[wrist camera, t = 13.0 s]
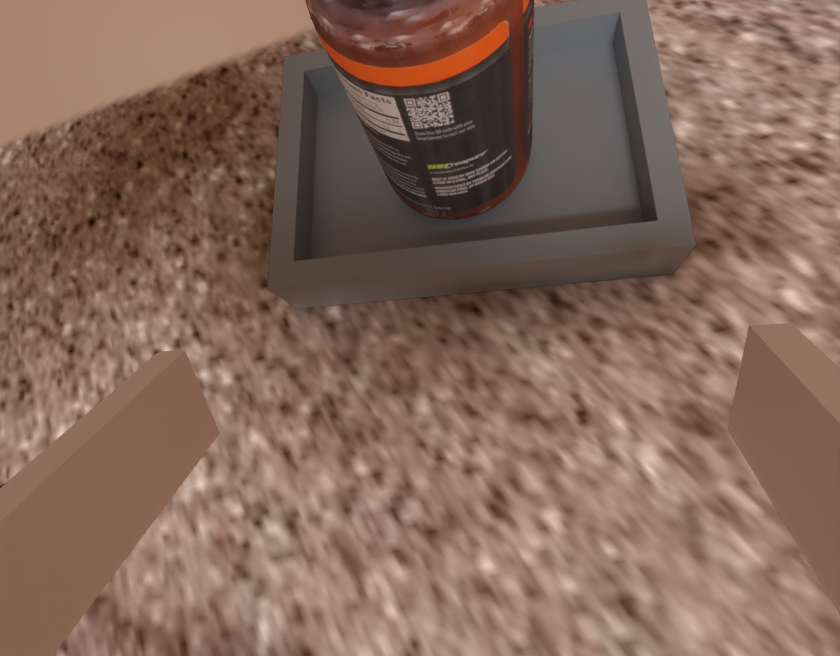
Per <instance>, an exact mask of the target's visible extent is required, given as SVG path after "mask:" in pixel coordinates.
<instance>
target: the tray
mask: <svg viewBox="0 0 840 656" xmlns="http://www.w3.org/2000/svg"><path fill="white" fill-rule="evenodd" d="M695 246H696V242H695V237H694V232H693V227H692V222H691V217H690V212H689V207H688V202H687V198H686V193H685V188H684V183H683V178H682V173H681V168H680V163H679V158H678V154H677V149H676V144H675V139H674V134H673V129H672V124H671V119H670V114H669V109H668V105H667V100H666V95H665V90H664V85H663V80H662V75H661V70H660V65H659V60H658V56H657V51H656V46H655V41H654V36H653V31H652V26H651V21H650V16H649V12H648V7H647V2H646V0H573V1H567V2H562V3H557V4H552V5H547V6H542V7H537V8H534V42H533V114H532V145H531V155H530V162H529V165H528V168H527V170H526V172H525V174H524V176H523V178H522V180H521V181H520V183H519V184H518V186H517V187H516V188H515V189H514V191H513V192H512V193H511V194H510V195H509V196H508V197H507V198H506V199H505V200H504V201H502V202H501V203H500V204H498V205H497V206H495V207H494V208H492V209H490V210H488V211H486V212H483V213H481V214H478V215H476V216H472V217H468V218H462V219H440V218H432V217H429V216H426V215H424V214H421V213H419V212H417V211H415V210H414V209H412V208H411V207H409V206H408V205H407V204H406V203H405V202H404V201H402V200H401V199H400V197H399V196H398V195H397V193H396V192H395V191H394V189H393V187H392V185H391V184H390V182H389V181H388V179H387V177H386V174H385V172H384V170H383V168H382V166H381V164H380V162H379V160H378V158H377V155H376V153H375V151H374V149H373V147H372V145H371V143H370V141H369V139H368V137H367V135H366V133H365V130H364V128H363V126H362V124H361V122H360V120H359V118H358V116H357V114H356V112H355V109H354V108H353V106H352V104H351V101H350V100H349V97H348V95H347V93H346V91H345V89H344V87H343V85H342V83H341V81H340V79H339V77H338V75H337V73H336V71H335V68H334V66H333V64H332V62H331V60H330V58H329V57H328V54H327V51H326V49H321V50H316V51H311V52H305V53H300V54H295V55H290V56H285V57H284V64H283V78H282V92H281V106H280V120H279V134H278V148H277V162H276V176H275V190H274V204H273V218H272V232H271V245H270V259H269V273H268V287H267V288H268V289H270V290H271V291H272V292H274V293H275V294H276V295H278V296H279V297H281V298H282V299H283V300H285V301H286V302H288V303H289V304H290V305H292V306H293V307H295V308H296V309H298V308H309V307H320V306H331V305H342V304H353V303H364V302H375V301H386V300H396V299H407V298H418V297H429V296H440V295H451V294H462V293H473V292H484V291H495V290H506V289H517V288H528V287H539V286H550V285H560V284H571V283H582V282H593V281H604V280H615V279H626V278H637V277H648V276H659V275H670V274H674V273H675V271H676V270H677V269H678V267H679V266H680V265H681V264H682V262H683V261H684V260H685V258H686V257H687V256H688V255H689V253H690V252H691V251H692V249H693V248H694V247H695Z"/></svg>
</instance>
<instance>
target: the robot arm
mask: <svg viewBox="0 0 840 656" xmlns="http://www.w3.org/2000/svg"><path fill="white" fill-rule="evenodd" d="M728 431H729V432H730V434H731V436H732V437H733V439H734V441H735V442H736V444H737V445H738V447H739V449H740V450H741V452H742V454H743V455H744V457H745V459H746V460H747V462H748V464H749V465H750V467H751V469H752V470H753V472H754V474H755V475H756V477H757V478H758V480H759V482H760V483H761V485H762V487H763V488H764V490H765V492H766V493H767V495H768V497H769V498H770V500H771V502H772V503H773V505H774V506H775V508H776V510H777V511H778V513H779V515H780V516H781V518H782V520H783V521H784V523H785V525H786V526H787V528H788V530H789V531H790V533H791V535H792V536H793V538H794V539H795V541H796V543H797V544H798V546H799V548H800V549H801V551H802V553H803V554H804V556H805V558H806V559H807V561H808V563H809V564H810V566H811V567H812V569H813V571H814V572H815V574H816V576H817V577H818V579H819V581H820V582H821V584H822V586H823V587H824V589H825V591H826V592H827V594H828V596H829V597H830V599H831V600H832V602H833V604H834V605H835V607H836V609H837V610H838V612H839V614H840V368H839V367H838V366H837V365H836V364H835V363H833V362H832V361H831V360H830V359H829V358H828V357H827V356H826V355H825V354H824V353H823V352H821V351H820V350H819V349H818V348H817V347H816V346H815V345H814V344H813V343H812V342H811V341H810V340H808V339H807V338H806V337H805V336H804V335H803V334H802V333H801V332H800V331H799V330H798V329H797V328H795V327H794V326H793V325H792V324H769V325H749V329H748V333H747V338H746V343H745V348H744V353H743V358H742V362H741V367H740V372H739V377H738V382H737V387H736V391H735V396H734V401H733V406H732V411H731V416H730V420H729V425H728ZM219 434H220V432H219V430H218V428H217V425H216V423H215V420H214V418H213V416H212V413H211V411H210V409H209V406H208V404H207V402H206V399H205V397H204V395H203V392H202V390H201V387H200V385H199V383H198V380H197V378H196V376H195V373H194V371H193V369H192V366H191V364H190V362H189V359H188V357H187V354H186V352H185V351H166V352H158V353H157V354H156V355H155V356H153V357H152V358H151V359H150V360H149V361H148V362H147V363H145V364H144V365H143V366H142V367H141V368H140V369H138V370H137V371H136V372H135V373H134V374H133V375H131V376H130V377H129V378H128V379H127V380H126V381H124V382H123V383H122V384H121V385H120V386H119V387H117V388H116V389H115V390H114V391H113V392H112V393H110V394H109V395H108V396H107V397H106V398H105V399H103V400H102V401H101V402H100V403H99V404H98V405H96V406H95V407H94V408H93V409H92V410H91V411H89V412H88V413H87V414H86V415H85V416H84V417H82V418H81V419H80V420H79V421H78V422H77V423H76V424H74V425H73V426H72V427H71V428H70V429H69V430H67V431H66V432H65V433H64V434H63V435H62V436H60V437H59V438H58V439H57V440H56V441H55V442H53V443H52V444H51V445H50V446H49V447H48V448H46V449H45V450H44V451H43V452H42V453H41V454H39V455H38V456H37V457H36V458H35V459H34V460H32V461H31V462H30V463H29V464H28V465H27V466H25V467H24V468H23V469H22V470H21V471H20V472H18V473H17V474H16V475H15V476H14V477H13V478H11V479H10V480H9V481H8V482H6V483H5V484H3V485H2V486H0V656H53V655H54V654H55V652H56V651H57V650H58V648H59V647H60V646H61V644H62V643H63V642H64V640H65V639H66V638H67V636H68V635H69V634H70V632H71V631H72V630H73V628H74V627H75V626H76V624H77V623H78V622H79V620H80V619H81V618H82V616H83V615H84V614H85V612H86V611H87V610H88V608H89V607H90V606H91V604H92V603H93V602H94V600H95V599H96V598H97V596H98V595H99V594H100V592H101V591H102V590H103V588H104V587H105V586H106V584H107V583H108V582H109V580H110V579H111V578H112V576H113V575H114V574H115V572H116V571H117V570H118V568H119V567H120V566H121V564H122V563H123V562H124V560H125V559H126V558H127V556H128V555H129V554H130V552H131V551H132V550H133V548H134V547H135V546H136V544H137V543H138V542H139V540H140V539H141V538H142V536H143V535H144V534H145V532H146V531H147V530H148V528H149V527H150V526H151V524H152V523H153V522H154V520H155V519H156V518H157V516H158V515H159V514H160V512H161V511H162V510H163V508H164V507H165V506H166V504H167V503H168V502H169V500H170V499H171V498H172V496H173V495H174V494H175V492H176V491H177V490H178V488H179V487H180V486H181V484H182V483H183V482H184V480H185V479H186V478H187V476H188V475H189V474H190V472H191V471H192V470H193V468H194V467H195V466H196V464H197V463H198V462H199V460H200V459H201V458H202V456H203V455H204V454H205V452H206V451H207V450H208V448H209V447H210V446H211V444H212V443H213V442H214V440H215V439H216V438H217V436H218V435H219Z"/></svg>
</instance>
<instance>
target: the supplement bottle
mask: <svg viewBox="0 0 840 656" xmlns="http://www.w3.org/2000/svg"><path fill="white" fill-rule="evenodd" d="M306 4H307V7H308V10H309V13H310V16H311V19H312V21H313V23H314V26H315V29H316V31H317V33H318V35H319V37H320V39H321V41H322V43H323V45H324V47H325V48H326V51H327V54H328V57H329V58H330V60H331V62H332V64H333V66H334V68H335V71H336V73H337V75H338V77H339V79H340V81H341V83H342V85H343V87H344V89H345V91H346V93H347V95H348V97H349V100H350V101H351V104H352V106H353V108H354V109H355V112H356V114H357V116H358V118H359V120H360V122H361V124H362V126H363V128H364V130H365V133H366V135H367V137H368V139H369V141H370V143H371V145H372V147H373V149H374V151H375V153H376V155H377V158H378V160H379V162H380V164H381V166H382V168H383V170H384V172H385V174H386V177H387V179H388V181H389V182H390V184H391V185H392V187H393V189H394V191H395V192H396V193H397V195H398V196H399V197H400V199H401V200H402V201H404V202H405V203H406V204H407V205H408V206H409V207H411V208H412V209H414V210H415V211H417V212H419V213H421V214H424V215H426V216H429V217H432V218H440V219H462V218H468V217H472V216H476V215H478V214H481V213H483V212H486V211H488V210H490V209H492V208H494V207H495V206H497V205H498V204H500V203H501V202H502V201H504V200H505V199H506V198H507V197H508V196H509V195H510V194H511V193H512V192H513V191H514V189H515V188H516V187H517V186H518V184H519V183H520V181H521V180H522V178H523V176H524V174H525V172H526V170H527V168H528V165H529V162H530V155H531V145H532V114H533V42H534V0H306Z"/></svg>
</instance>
